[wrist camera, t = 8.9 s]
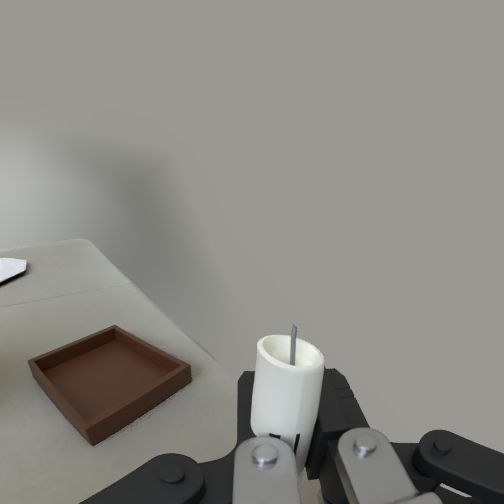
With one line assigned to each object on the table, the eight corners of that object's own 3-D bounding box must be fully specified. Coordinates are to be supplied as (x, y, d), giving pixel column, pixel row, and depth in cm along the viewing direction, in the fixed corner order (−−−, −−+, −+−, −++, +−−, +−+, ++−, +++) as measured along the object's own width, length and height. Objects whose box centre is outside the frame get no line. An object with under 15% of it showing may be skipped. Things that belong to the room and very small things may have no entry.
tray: (117, 339, 42) (114, 324, 41) (192, 381, 34) (190, 364, 33) (33, 376, 29) (27, 360, 28) (92, 446, 21) (84, 429, 20)
